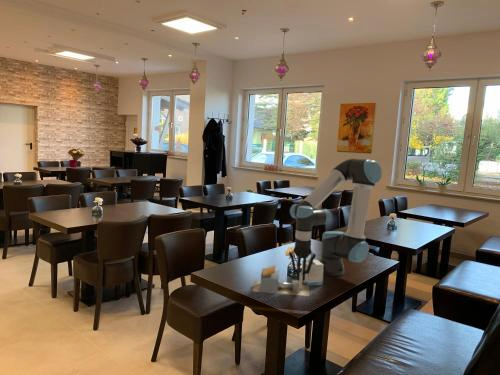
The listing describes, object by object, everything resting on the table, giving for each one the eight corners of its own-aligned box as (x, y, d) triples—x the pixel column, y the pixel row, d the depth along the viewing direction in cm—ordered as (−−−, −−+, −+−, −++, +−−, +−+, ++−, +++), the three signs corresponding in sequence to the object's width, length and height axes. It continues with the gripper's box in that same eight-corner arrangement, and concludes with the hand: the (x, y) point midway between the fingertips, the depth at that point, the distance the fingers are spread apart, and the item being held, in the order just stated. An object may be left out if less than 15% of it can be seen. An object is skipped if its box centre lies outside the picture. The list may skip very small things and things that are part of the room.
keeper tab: (275, 266, 184) (274, 264, 184) (274, 273, 174) (274, 271, 174) (262, 270, 185) (262, 268, 185) (261, 277, 175) (260, 275, 175)
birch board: (308, 287, 185) (308, 285, 185) (309, 298, 172) (309, 296, 172) (254, 283, 188) (254, 281, 188) (251, 293, 175) (251, 291, 175)
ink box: (322, 286, 188) (324, 261, 186) (307, 288, 185) (309, 262, 184) (315, 280, 196) (316, 256, 194) (300, 281, 193) (302, 256, 192)
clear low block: (298, 287, 182) (298, 280, 182) (298, 292, 176) (299, 285, 176) (269, 285, 184) (270, 278, 183) (269, 290, 177) (269, 282, 177)
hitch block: (278, 283, 186) (278, 270, 185) (277, 292, 174) (278, 279, 173) (262, 282, 187) (262, 269, 186) (260, 291, 175) (261, 278, 174)
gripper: (316, 237, 179) (313, 285, 182) (289, 236, 180) (286, 282, 183) (317, 241, 172) (314, 290, 175) (289, 239, 173) (286, 288, 176)
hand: (300, 286), depth 179 cm, fingers closed
